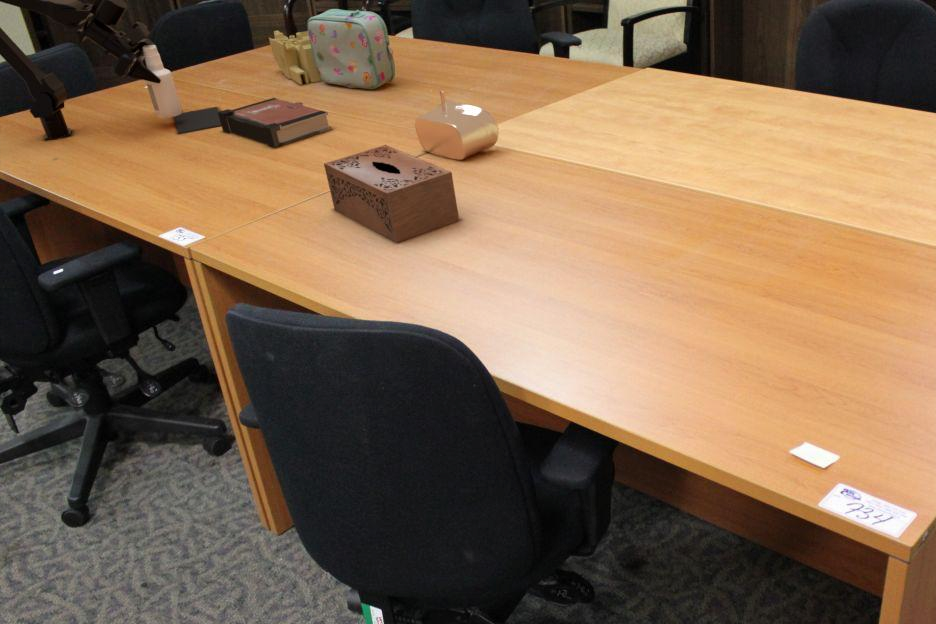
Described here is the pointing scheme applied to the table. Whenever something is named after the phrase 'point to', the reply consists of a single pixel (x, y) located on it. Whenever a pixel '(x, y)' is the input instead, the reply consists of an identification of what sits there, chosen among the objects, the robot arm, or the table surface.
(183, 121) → the pad
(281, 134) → the book
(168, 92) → the spray bottle
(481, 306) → the table surface
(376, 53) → the lunch box
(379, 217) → the tissue box cover
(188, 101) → the table surface
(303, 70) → the beige blocky piece
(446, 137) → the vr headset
